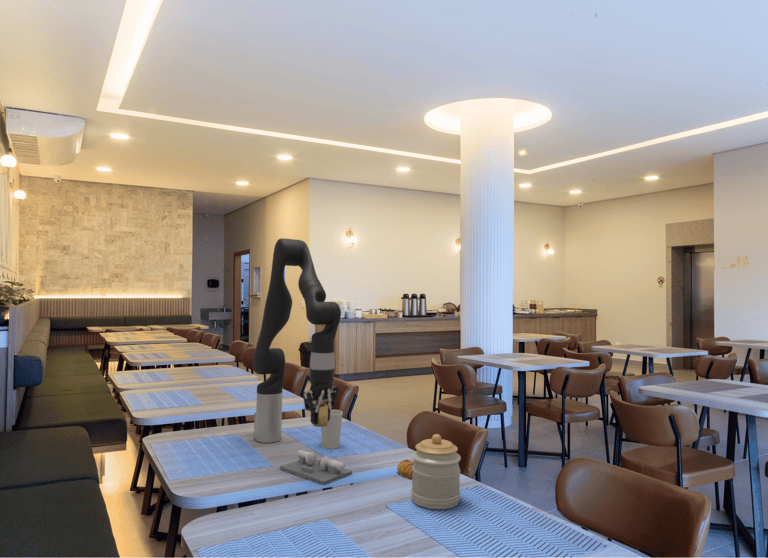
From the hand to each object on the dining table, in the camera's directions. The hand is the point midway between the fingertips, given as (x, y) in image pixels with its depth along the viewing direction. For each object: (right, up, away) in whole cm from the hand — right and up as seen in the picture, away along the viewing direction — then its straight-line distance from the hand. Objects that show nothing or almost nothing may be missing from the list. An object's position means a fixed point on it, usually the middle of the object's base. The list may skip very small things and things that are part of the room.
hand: (320, 422), depth 164 cm
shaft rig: (-1, -15, -1) cm, 15 cm away
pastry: (+28, -16, -1) cm, 32 cm away
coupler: (0, -1, 0) cm, 1 cm away
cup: (+1, -15, +26) cm, 30 cm away
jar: (+33, -15, -21) cm, 42 cm away
